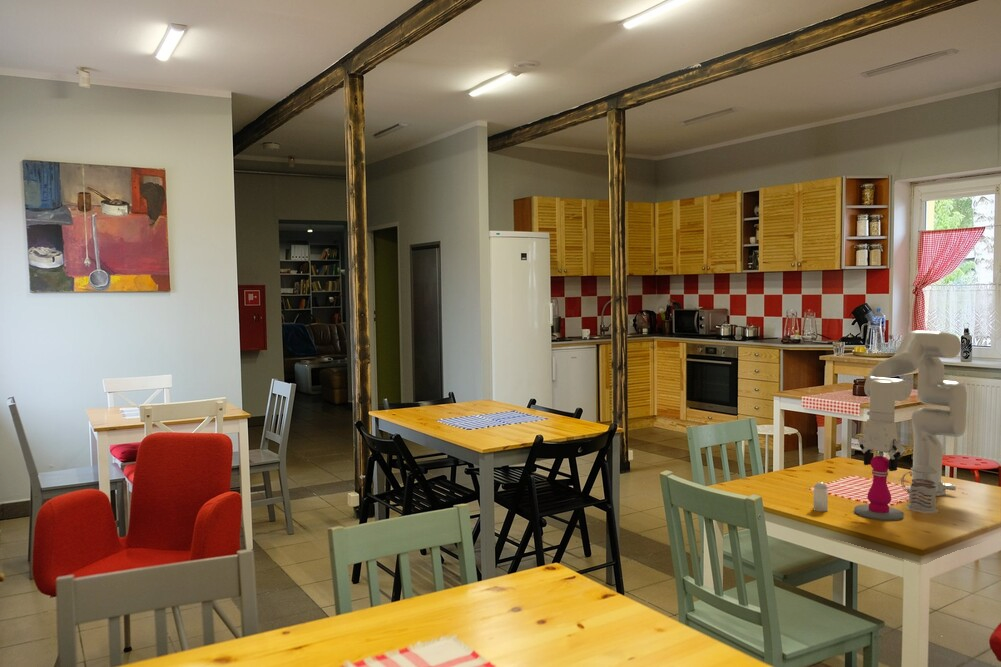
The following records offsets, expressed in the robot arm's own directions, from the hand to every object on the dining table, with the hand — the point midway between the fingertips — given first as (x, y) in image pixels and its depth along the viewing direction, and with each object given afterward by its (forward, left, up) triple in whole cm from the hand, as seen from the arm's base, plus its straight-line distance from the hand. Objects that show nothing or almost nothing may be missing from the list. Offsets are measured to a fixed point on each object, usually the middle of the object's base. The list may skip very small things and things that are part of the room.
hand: (880, 467), depth 257 cm
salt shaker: (+18, +3, -16) cm, 24 cm away
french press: (-13, -14, -16) cm, 25 cm away
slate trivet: (0, 0, -16) cm, 16 cm away
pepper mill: (0, 0, -15) cm, 15 cm away
